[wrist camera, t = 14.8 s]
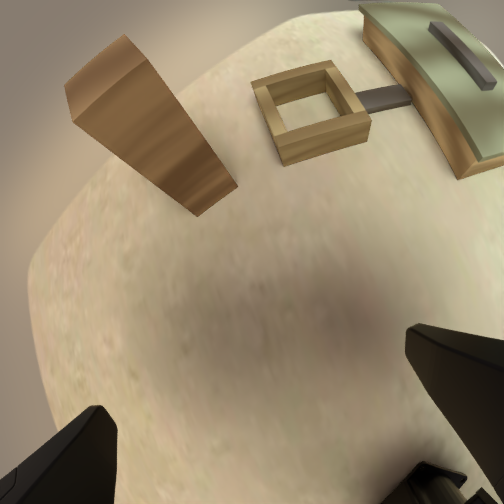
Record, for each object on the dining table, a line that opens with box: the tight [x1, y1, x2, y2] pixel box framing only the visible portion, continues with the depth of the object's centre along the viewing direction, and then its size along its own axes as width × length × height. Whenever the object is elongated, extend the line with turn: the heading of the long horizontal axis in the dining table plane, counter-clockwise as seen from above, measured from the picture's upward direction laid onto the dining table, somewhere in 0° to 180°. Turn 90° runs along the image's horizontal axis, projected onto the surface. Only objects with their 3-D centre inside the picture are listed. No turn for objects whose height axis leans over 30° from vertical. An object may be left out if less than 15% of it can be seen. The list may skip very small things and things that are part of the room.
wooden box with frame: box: [251, 3, 504, 180], centre depth 18 cm, size 19×24×6 cm
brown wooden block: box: [64, 34, 238, 217], centre depth 16 cm, size 4×4×14 cm
